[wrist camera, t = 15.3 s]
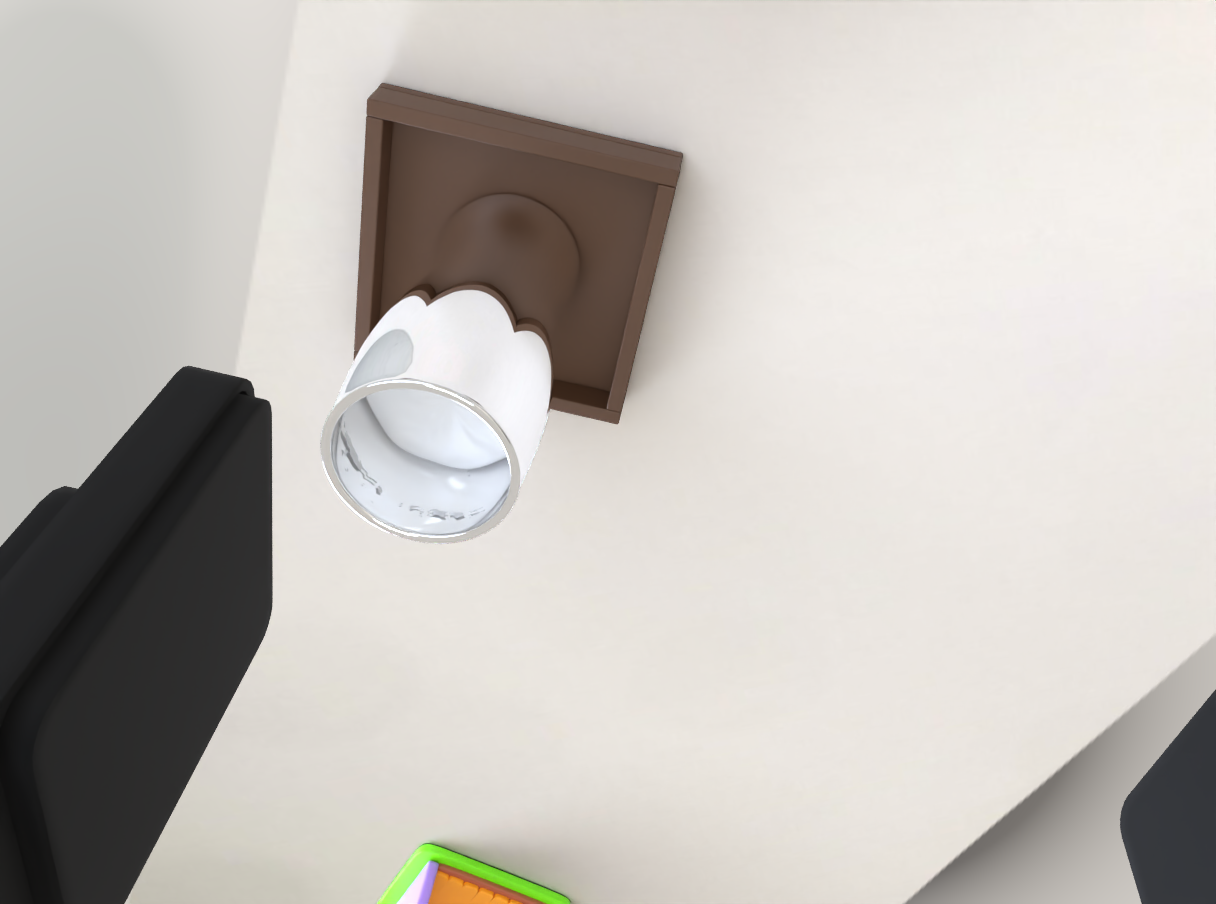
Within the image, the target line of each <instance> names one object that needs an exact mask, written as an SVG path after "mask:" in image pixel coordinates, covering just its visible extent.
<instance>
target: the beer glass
mask: <svg viewBox="0 0 1216 904" xmlns="http://www.w3.org/2000/svg"><path fill="white" fill-rule="evenodd" d="M579 273H580V258H579V252H578V248H577V245H576V242H575V240H574V237H573V235H572V234H571V232H570V230H569V229H568V227H567V226H566V224H565V223H564V222H563V221H562V220H561V219H560V218H559V217H558V216H557V215H556V214H555V213H554V212H553V211H551V210H550V209H549V208H547V207H546V206H544V205H543V204H541V203H539V202H537V201H535V200H532V199H530V198H527V197H523V196H519V195H514V194H493V195H488V196H484V197H481V198H478V199H476V200H474V201H472V202H470V203H468V204H467V205H465V206H464V207H463V208H461V209H460V210H459V211H458V212H457V213H456V214H455V215H454V216H453V218H452V219H451V220H450V222H449V223H448V225H447V227H446V229H445V231H444V234H443V237H442V240H441V244H440V250H439V256H438V262H437V265H436V266H435V267H434V268H433V269H432V270H431V271H430V272H429V273H428V274H427V275H425V276H424V277H423V278H422V279H421V280H419V281H418V282H417V283H416V284H415V285H414V286H413V287H411V288H410V289H409V290H408V291H407V292H406V293H405V294H404V295H403V296H401V297H400V298H399V299H398V300H397V301H396V302H395V304H394V305H393V306H392V307H391V308H390V309H389V310H388V311H387V312H386V313H385V314H384V315H383V316H382V318H381V319H380V320H379V321H378V323H377V324H376V326H375V327H374V329H373V330H372V332H371V333H370V334H369V336H368V337H367V339H366V340H365V342H364V343H363V345H362V347H361V348H360V350H359V352H358V354H357V356H356V358H355V360H354V362H353V364H352V365H351V367H350V369H349V371H348V374H347V376H346V378H345V380H344V383H343V385H342V387H341V389H340V392H339V394H338V397H337V399H336V402H335V404H334V406H333V409H332V410H331V412H330V413H329V415H328V417H327V419H326V421H325V423H324V426H323V430H322V434H321V442H320V448H321V458H322V462H323V466H324V469H325V472H326V474H327V476H328V479H329V481H330V482H331V484H332V486H333V487H334V489H335V491H336V492H337V493H338V495H339V496H340V497H341V498H342V500H343V501H344V502H345V503H346V504H347V505H348V506H349V507H350V508H351V509H352V510H353V511H354V512H355V513H357V514H358V515H359V516H360V517H362V518H363V519H365V520H366V521H367V522H369V523H371V524H372V525H374V526H376V527H377V528H379V529H381V530H383V531H385V532H388V533H390V534H392V535H395V536H398V537H401V538H404V539H408V540H412V541H417V542H423V543H433V544H448V543H456V542H462V541H466V540H470V539H473V538H476V537H478V536H481V535H483V534H485V533H487V532H489V531H490V530H492V529H493V528H495V527H496V526H497V525H499V524H500V523H501V522H502V521H503V520H504V519H505V518H506V517H507V515H508V514H509V513H510V511H511V510H512V508H513V506H514V505H515V502H516V500H517V498H518V494H519V490H520V488H521V485H522V483H523V481H524V479H525V477H526V475H527V473H528V470H529V468H530V466H531V464H532V461H533V459H534V457H535V454H536V452H537V449H538V447H539V444H540V441H541V438H542V435H543V433H544V430H545V427H546V423H547V419H548V415H549V411H550V407H551V403H552V399H553V392H554V380H555V319H556V317H557V315H558V314H559V313H560V312H561V310H562V309H563V308H564V307H565V306H566V304H567V303H568V301H569V300H570V298H571V297H572V295H573V293H574V291H575V288H576V286H577V282H578V279H579Z"/></svg>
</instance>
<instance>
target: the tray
mask: <svg viewBox="0 0 1216 904" xmlns="http://www.w3.org/2000/svg"><path fill="white" fill-rule="evenodd" d="M367 115H368V116H367V117H366V134H365V154H364V173H363V192H362V211H361V230H360V250H359V269H358V288H357V307H356V326H355V345H354V350H355V351H354V360H355V358H356V356H357V354H358V352H359V350H360V348H361V347H362V345H363V343H364V342H365V340H366V339H367V337H368V336H369V334H370V333H371V332H372V330H373V329H374V327H375V326H376V324H377V323H378V321H379V320H380V319H381V318H382V316H383V315H384V314H385V313H386V312H387V311H388V310H389V309H390V308H391V307H392V306H393V305H394V304H395V302H396V301H397V300H398V299H399V298H400V297H401V296H403V295H404V294H405V293H406V292H407V291H408V290H409V289H410V288H411V287H413V286H414V285H415V284H416V283H417V282H418V281H419V280H421V279H422V278H423V277H424V276H425V275H427V274H428V273H429V272H430V271H431V270H432V269H433V268H434V267H435V266H436V265H437V262H438V256H439V250H440V244H441V240H442V237H443V234H444V231H445V229H446V227H447V225H448V223H449V222H450V220H451V219H452V218H453V216H454V215H455V214H456V213H457V212H458V211H459V210H460V209H461V208H463V207H464V206H465V205H467V204H468V203H470V202H472V201H474V200H476V199H478V198H481V197H484V196H488V195H493V194H514V195H519V196H523V197H527V198H530V199H532V200H535V201H537V202H539V203H541V204H543V205H544V206H546V207H547V208H549V209H550V210H551V211H553V212H554V213H555V214H556V215H557V216H558V217H559V218H560V219H561V220H562V221H563V222H564V223H565V224H566V226H567V227H568V229H569V230H570V232H571V234H572V235H573V237H574V240H575V242H576V245H577V248H578V252H579V258H580V273H579V279H578V282H577V286H576V288H575V291H574V293H573V295H572V297H571V298H570V300H569V301H568V303H567V304H566V306H565V307H564V308H563V309H562V310H561V312H560V313H559V314H558V315H557V317H556V319H555V380H554V392H553V399H552V403H551V407H550V409H553V410H557V411H562V412H566V413H570V414H575V415H579V416H583V417H588V418H592V419H596V420H601V421H605V422H609V423H614V424H618V423H619V420H620V415H621V411H622V407H623V403H624V399H625V395H626V391H627V387H628V383H629V378H630V374H631V370H632V366H633V362H634V358H635V354H636V350H637V346H638V341H639V337H640V333H641V329H642V325H643V321H644V317H645V313H646V309H647V304H648V300H649V296H650V292H651V288H652V284H653V280H654V276H655V272H656V267H657V263H658V259H659V255H660V251H661V247H662V243H663V239H664V235H665V230H666V226H667V222H668V218H669V214H670V210H671V206H672V202H673V198H674V193H675V189H676V185H677V181H678V177H679V173H680V168H681V162H682V157H683V153H680V152H675V151H671V150H667V149H663V148H658V147H654V146H650V145H645V144H641V143H637V142H633V141H628V140H624V139H620V138H616V137H611V136H607V135H603V134H598V133H594V132H590V131H586V130H581V129H577V128H573V127H569V126H564V125H560V124H556V123H551V122H547V121H543V120H539V119H534V118H530V117H526V116H522V115H517V114H513V113H509V112H504V111H500V110H496V109H492V108H487V107H483V106H479V105H474V104H470V103H466V102H462V101H457V100H453V99H449V98H445V97H440V96H436V95H432V94H427V93H423V92H419V91H415V90H410V89H406V88H402V87H398V86H393V85H389V84H385V83H382V84H381V85H380V86H379V88H377V89H376V90H375V92H374V93H373V94H372V95H371V96H370V97H369V98H368V99H367Z"/></svg>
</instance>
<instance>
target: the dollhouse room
mask: <svg viewBox="0 0 1216 904" xmlns="http://www.w3.org/2000/svg"><path fill="white" fill-rule="evenodd" d="M378 904H570V900H569V899H568V898H566V897H564V896H562V895H560V894H558V893H556V892H553V891H551V890H548V889H546V888H543V887H541V886H538V885H536V884H533V883H531V882H528V881H526V880H523V879H521V878H518V877H516V876H513V875H511V874H508V873H506V872H503V871H501V870H498V869H496V868H493V867H491V866H488V865H486V864H483V863H480V862H478V861H475V860H473V859H470V858H468V857H465V856H462V855H460V854H457V853H455V852H452V851H449V850H447V849H444V848H441V847H438V846H435V845H431V844H424V845H422V846H420V847H419V848H418V849H417V850H416V851H415V853H414V854H413V855H412V856H411V858H410V859H409V860H408V862H407V863H406V864H405V866H404V867H403V868H402V870H401V871H400V872H399V874H398V875H397V876H396V878H395V879H394V881H393V882H392V883H391V885H390V886H389V888H388V889H387V890H386V892H385V893H384V895H383V896H382V898H381V899H380V901H379V902H378Z"/></svg>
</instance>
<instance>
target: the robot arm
mask: <svg viewBox="0 0 1216 904" xmlns="http://www.w3.org/2000/svg"><path fill="white" fill-rule="evenodd" d="M271 611H272V412H271V405H270V403H269V401H267V400H265V399H260V398H256V397H255V396H254V388H253V386H252V383H251V382H250V381H249V380H247V379H244V378H240V377H236V376H231V375H227V374H222V373H218V372H214V371H209V370H205V369H201V368H196V367H192V366H187V367H183V368H182V369H180V370H179V371H178V372H177V373H176V374H175V375H174V376H173V378H172V379H171V380H170V381H169V382H168V383H167V385H166V386H165V387H164V388H163V389H162V391H161V392H160V393H159V394H158V395H157V396H156V398H155V399H154V400H153V401H152V402H151V404H150V405H149V406H148V407H147V408H146V409H145V411H144V412H143V413H142V414H141V415H140V417H139V418H138V419H137V420H136V421H135V422H134V424H133V425H132V426H131V427H130V428H129V430H128V431H127V432H126V433H125V434H124V436H123V437H122V438H121V439H120V440H119V441H118V443H117V444H116V445H115V446H114V447H113V449H112V450H111V451H110V452H109V453H108V454H107V456H106V457H105V458H104V459H103V460H102V461H101V463H100V464H99V465H98V466H97V468H96V469H95V470H94V471H93V472H92V473H91V474H90V476H89V477H88V478H87V479H86V480H85V482H84V483H83V484H82V485H81V486H80V487H79V489H76V488H71V487H67V486H64V487H61V488H59V489H56V490H53V491H52V492H51V493H50V494H49V495H47V496H46V497H45V498H44V499H43V500H42V501H41V502H39V504H38V505H37V506H36V507H35V508H34V509H33V510H32V512H31V513H30V514H29V515H28V516H27V517H26V518H25V519H24V521H23V522H22V523H21V524H20V525H19V526H18V527H17V529H16V530H15V531H14V532H13V533H12V534H11V536H10V537H9V538H8V539H7V540H6V541H5V542H4V543H3V545H2V546H1V547H0V904H124V903H125V901H126V899H127V898H128V896H129V894H130V892H131V890H132V888H133V886H134V884H135V882H136V880H137V879H138V877H139V875H140V873H141V871H142V869H143V867H144V865H145V863H146V861H147V859H148V858H149V856H150V854H151V852H152V850H153V848H154V846H155V844H156V842H157V840H158V839H159V837H160V835H161V833H162V831H163V829H164V827H165V825H166V823H167V821H168V819H169V818H170V816H171V814H172V812H173V810H174V808H175V806H176V804H177V802H178V800H179V799H180V797H181V795H182V793H183V791H184V789H185V787H186V785H187V783H188V781H189V779H190V778H191V776H192V774H193V772H194V770H195V768H196V766H197V764H198V762H199V760H200V758H201V757H202V755H203V753H204V751H205V749H206V747H207V745H208V743H209V741H210V739H211V738H212V736H213V734H214V732H215V730H216V728H217V726H218V724H219V722H220V720H221V718H222V717H223V715H224V713H225V711H226V709H227V707H228V705H229V703H230V701H231V699H232V698H233V696H234V694H235V692H236V690H237V688H238V686H239V684H240V682H241V680H242V678H243V677H244V675H245V673H246V671H247V669H248V667H249V665H250V663H251V661H252V659H253V658H254V656H255V654H256V652H257V650H258V648H259V646H260V644H261V642H262V640H263V638H264V636H265V633H266V630H267V627H268V624H269V620H270V616H271ZM1120 828H1121V834H1122V839H1123V842H1124V845H1125V849H1126V852H1127V856H1128V859H1129V862H1130V865H1131V869H1132V872H1133V876H1134V879H1135V882H1136V885H1137V889H1138V892H1139V896H1140V899H1141V902H1142V904H1216V690H1215V691H1214V692H1213V693H1212V695H1211V696H1210V697H1209V698H1208V699H1207V701H1206V702H1205V703H1204V704H1203V706H1202V707H1201V708H1200V709H1199V710H1198V712H1197V713H1196V714H1195V715H1194V717H1193V718H1192V719H1191V720H1190V721H1189V723H1188V724H1187V725H1186V726H1185V727H1184V729H1183V730H1182V731H1181V732H1180V733H1179V735H1178V736H1177V737H1176V738H1175V739H1174V741H1173V742H1172V743H1171V744H1170V745H1169V747H1168V748H1167V749H1166V750H1165V751H1164V753H1163V754H1162V755H1161V757H1160V758H1159V759H1158V760H1157V761H1156V762H1155V764H1154V765H1153V766H1152V767H1151V769H1150V770H1149V771H1148V772H1147V773H1146V775H1145V776H1144V777H1143V778H1142V779H1141V781H1140V782H1139V783H1138V784H1137V786H1136V787H1135V788H1134V789H1133V790H1132V791H1131V793H1130V794H1129V795H1128V797H1127V798H1126V800H1125V802H1124V805H1123V808H1122V811H1121V818H1120Z"/></svg>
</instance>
